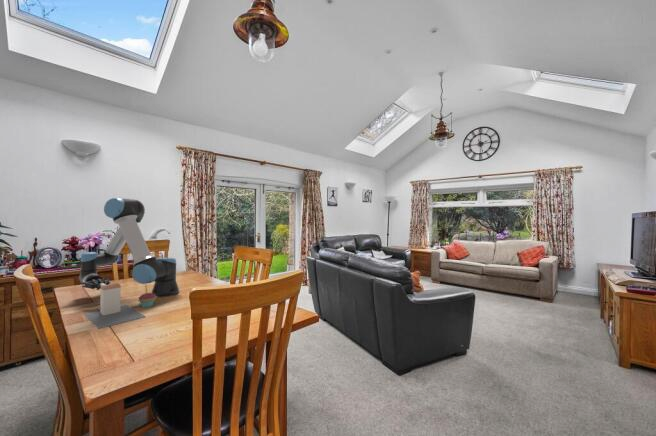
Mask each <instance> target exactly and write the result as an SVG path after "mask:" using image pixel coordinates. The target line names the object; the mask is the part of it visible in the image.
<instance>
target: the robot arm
mask: <svg viewBox="0 0 656 436" xmlns="http://www.w3.org/2000/svg"><path fill="white" fill-rule="evenodd" d="M145 211H146V209H145V205H144V204H143V202H141V201H140V200H138V199H134V198H122V197H112V198H109V199H108V200H107V201H106V202H105V204H104V207H103V212H104V214H105V216H106V217H107V218H111V219H112V221H113V223H114V224H116V225H118V226H119V227H118V228H117V230H116V232H115V233H114V235H113V236H112V239H110V242H109V243H108V245H107V247H106V248H105V250H104V252H103V253H98V252H96V251H88V252H82V253H81V255H80V274H79V276H78V281H79V282H80V283H81V288H85V289H90V290H94V289H96V291H100V290H101V286H102V285H108V284H111V283H112V282H111V278H107V279H106V280H105V279H104V278H103V277H102V276H101V275H99V274H98V267H102V266H106V265H107V266H108V265H113V264H116V263H118V262H119V261H120V257H121V256H120V253H121V251H122V249H123V248H124V246H125V244H127V246H128V249H129V252H130V253H131V255H132V257H133V261H134V263H133V264H132V266H133V269H132V271H131V276H132V278H133V280H134V281H135V282H136V283H139V284H142V285H147V284H151V283H153V287H152V289H151V293H154V294H156V295H157V298H161V297H170V296H175V295H177V294H179V291H180V288H179V286H178V282H177V259H176V258H174V257H156V256H154V255H152V254H151V251H150V249H149V247H148V245H147V243H146V240H145V237H144V236H143V233H142V231H141V229H140V226H139V223H141V222H142V220H143V219H144V215H145Z"/></svg>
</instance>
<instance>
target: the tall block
mask: <svg viewBox="0 0 656 436" xmlns="http://www.w3.org/2000/svg"><path fill="white" fill-rule="evenodd" d="M121 287H122V285H121V284H120V283H118V282H115V283H110V284H108V285H102V286H101V289H100V293H99V294H100V295H99V296H100V299H99V300H100V301H99V303H100V313H101V314H102V315H108V314H112V313H117V312H120V306H121V300H122V299H121V298H122V297H121V296H122V295H121V291H122V290H121Z"/></svg>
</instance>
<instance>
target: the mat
mask: <svg viewBox="0 0 656 436" xmlns="http://www.w3.org/2000/svg"><path fill="white" fill-rule="evenodd" d="M83 315H84V316H85V317H86V318H87V319H88V320H89V321H91V323H93V324H94V325H95V326H96V327H97V328H98V329H99V330H100V329H104V328H105V329H106V328H108V327H113V326H117V325H120V324H124V323H128V322H131V321H132V322H133V321H136V320H140V319H144V318H145V319H146V317H147V316H146V315H144V314H142V313H141V312H139V311H137V310H136V309H134V308H133V307H130V306H129V305H127V304H124V305H120V312H117V313H112V314H108V315H102V314H101V313H100V310H95V311H90V312H85V313H83Z"/></svg>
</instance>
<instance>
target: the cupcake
mask: <svg viewBox="0 0 656 436" xmlns="http://www.w3.org/2000/svg"><path fill="white" fill-rule="evenodd" d="M157 298H158V297H157V295H156V294H154V293H152V292H148V285H147V284H145V293H142V294H141V295H140V296H139V297H138V302H139V303H140V304H141V307H142V308H148V307H152V306H153V304H154V302H155V300H157Z"/></svg>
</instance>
